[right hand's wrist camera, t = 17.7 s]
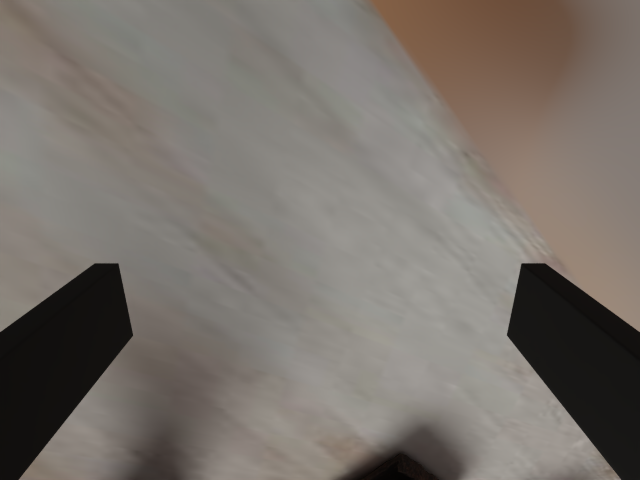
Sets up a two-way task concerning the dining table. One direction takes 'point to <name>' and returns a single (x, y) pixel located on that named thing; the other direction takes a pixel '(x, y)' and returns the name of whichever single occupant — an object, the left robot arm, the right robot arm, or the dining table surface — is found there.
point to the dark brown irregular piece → (400, 470)
